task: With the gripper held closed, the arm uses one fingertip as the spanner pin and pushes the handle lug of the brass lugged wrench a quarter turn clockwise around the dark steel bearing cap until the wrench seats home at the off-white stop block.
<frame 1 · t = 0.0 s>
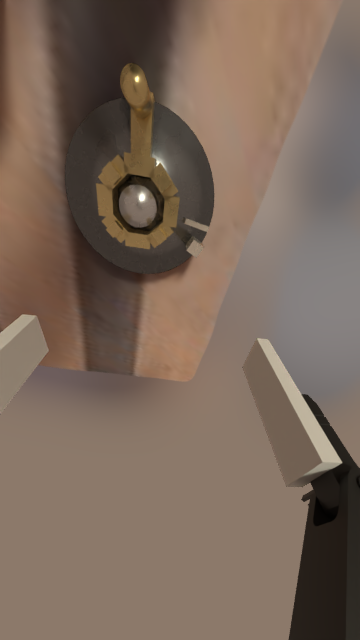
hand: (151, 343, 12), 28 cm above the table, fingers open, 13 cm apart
bearing cap: (144, 203, 31), on the table
brass lugged wrench: (138, 181, 24), point 7 cm above the table, hinge at 0.0°
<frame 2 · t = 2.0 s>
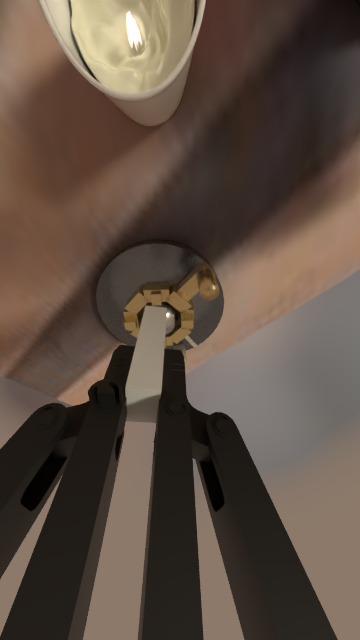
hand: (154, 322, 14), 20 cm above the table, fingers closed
bearing cap: (162, 301, 36), on the table
brass lugged wrench: (171, 311, 29), point 7 cm above the table, hinge at 0.0°
candle holder: (146, 72, 20), on the table
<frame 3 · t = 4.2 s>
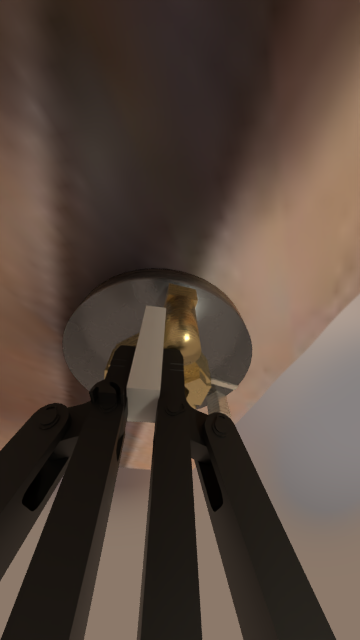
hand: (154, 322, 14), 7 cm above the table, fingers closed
bearing cap: (161, 348, 25), on the table
brass lugged wrench: (161, 377, 18), point 7 cm above the table, hinge at 0.7°, touching gripper
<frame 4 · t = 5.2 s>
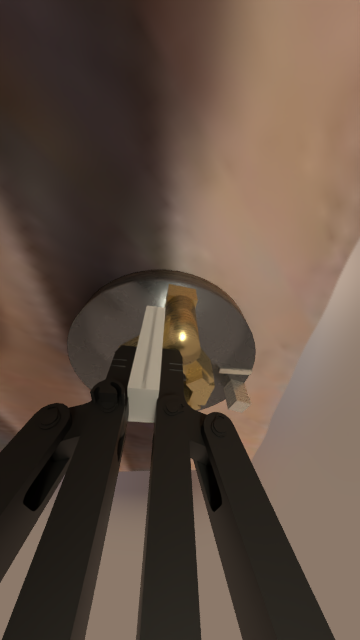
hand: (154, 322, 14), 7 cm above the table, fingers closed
bearing cap: (164, 349, 26), on the table
brass lugged wrench: (164, 377, 18), point 7 cm above the table, hinge at 16.9°, touching gripper
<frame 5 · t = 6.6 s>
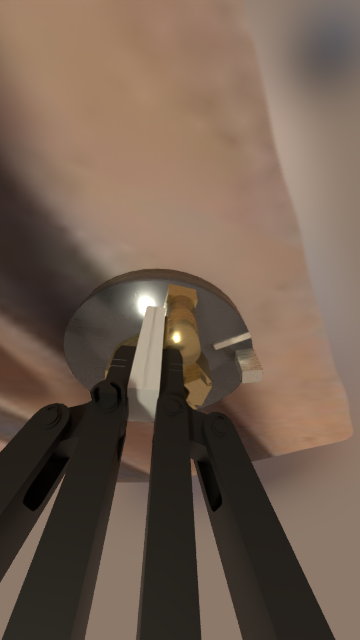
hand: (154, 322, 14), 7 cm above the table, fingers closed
bearing cap: (161, 348, 26), on the table
brass lugged wrench: (162, 377, 18), point 7 cm above the table, hinge at 50.6°, touching gripper
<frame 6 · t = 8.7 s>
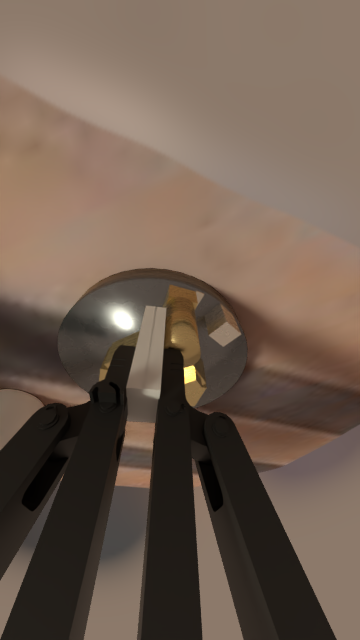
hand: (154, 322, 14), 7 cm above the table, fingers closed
bearing cap: (157, 348, 25), on the table
brass lugged wrench: (157, 377, 18), point 7 cm above the table, hinge at 91.0°, touching gripper
candle holder: (19, 401, 33), on the table
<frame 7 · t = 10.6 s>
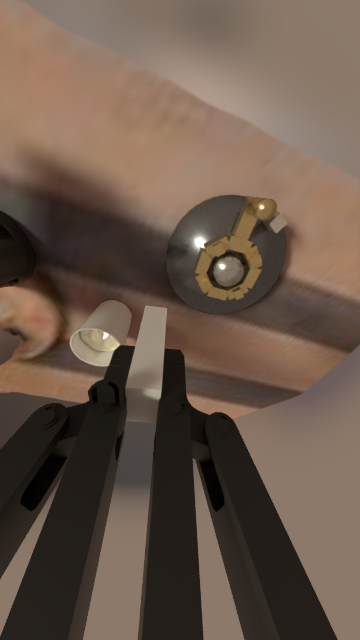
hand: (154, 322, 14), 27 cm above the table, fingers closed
bearing cap: (221, 260, 38), on the table
brass lugged wrench: (236, 256, 31), point 7 cm above the table, hinge at 90.8°
candle holder: (115, 314, 46), on the table
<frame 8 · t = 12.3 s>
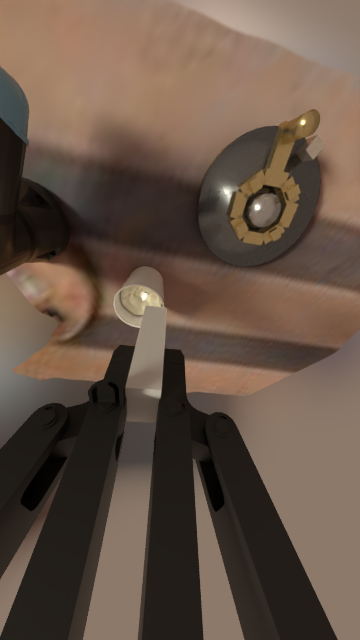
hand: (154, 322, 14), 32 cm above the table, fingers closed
bearing cap: (251, 207, 38), on the table
brass lugged wrench: (272, 191, 31), point 7 cm above the table, hinge at 90.8°
candle holder: (146, 281, 47), on the table
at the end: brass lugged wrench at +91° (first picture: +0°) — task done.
